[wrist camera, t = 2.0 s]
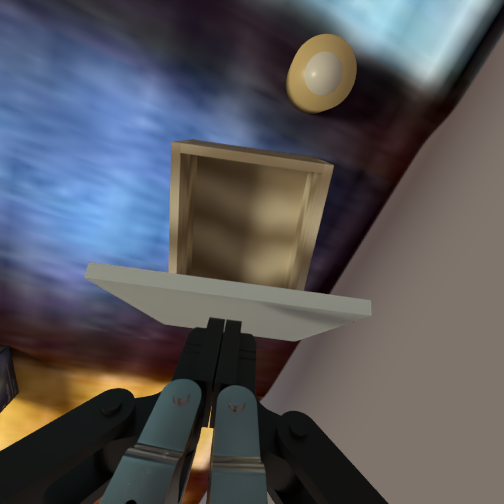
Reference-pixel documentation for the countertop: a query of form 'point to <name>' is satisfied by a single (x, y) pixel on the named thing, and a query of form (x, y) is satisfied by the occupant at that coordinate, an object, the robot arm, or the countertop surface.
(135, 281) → the lid
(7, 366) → the small box
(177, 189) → the crate
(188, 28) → the countertop surface
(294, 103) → the tan rounded piece
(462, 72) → the countertop surface
